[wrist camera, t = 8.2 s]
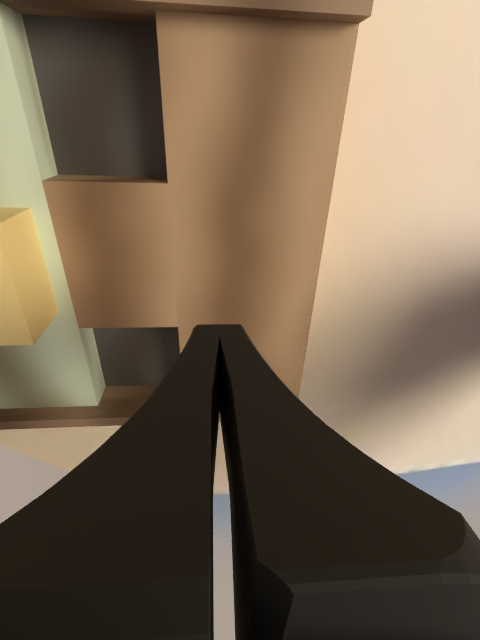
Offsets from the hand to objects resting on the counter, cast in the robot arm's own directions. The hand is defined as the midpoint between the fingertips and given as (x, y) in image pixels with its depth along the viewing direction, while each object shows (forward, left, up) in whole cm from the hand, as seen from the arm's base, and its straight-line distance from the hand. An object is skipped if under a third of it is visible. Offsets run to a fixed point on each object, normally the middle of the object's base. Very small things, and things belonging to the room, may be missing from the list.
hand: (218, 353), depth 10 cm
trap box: (+5, 0, -9) cm, 10 cm away
